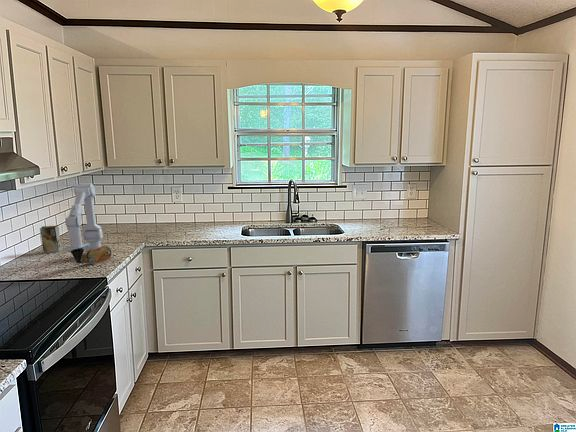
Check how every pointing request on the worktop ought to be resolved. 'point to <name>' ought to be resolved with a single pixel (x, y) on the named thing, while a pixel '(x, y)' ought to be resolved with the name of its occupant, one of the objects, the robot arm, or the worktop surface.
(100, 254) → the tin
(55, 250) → the coffee box
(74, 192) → the robot arm
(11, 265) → the worktop surface
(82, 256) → the letter block
